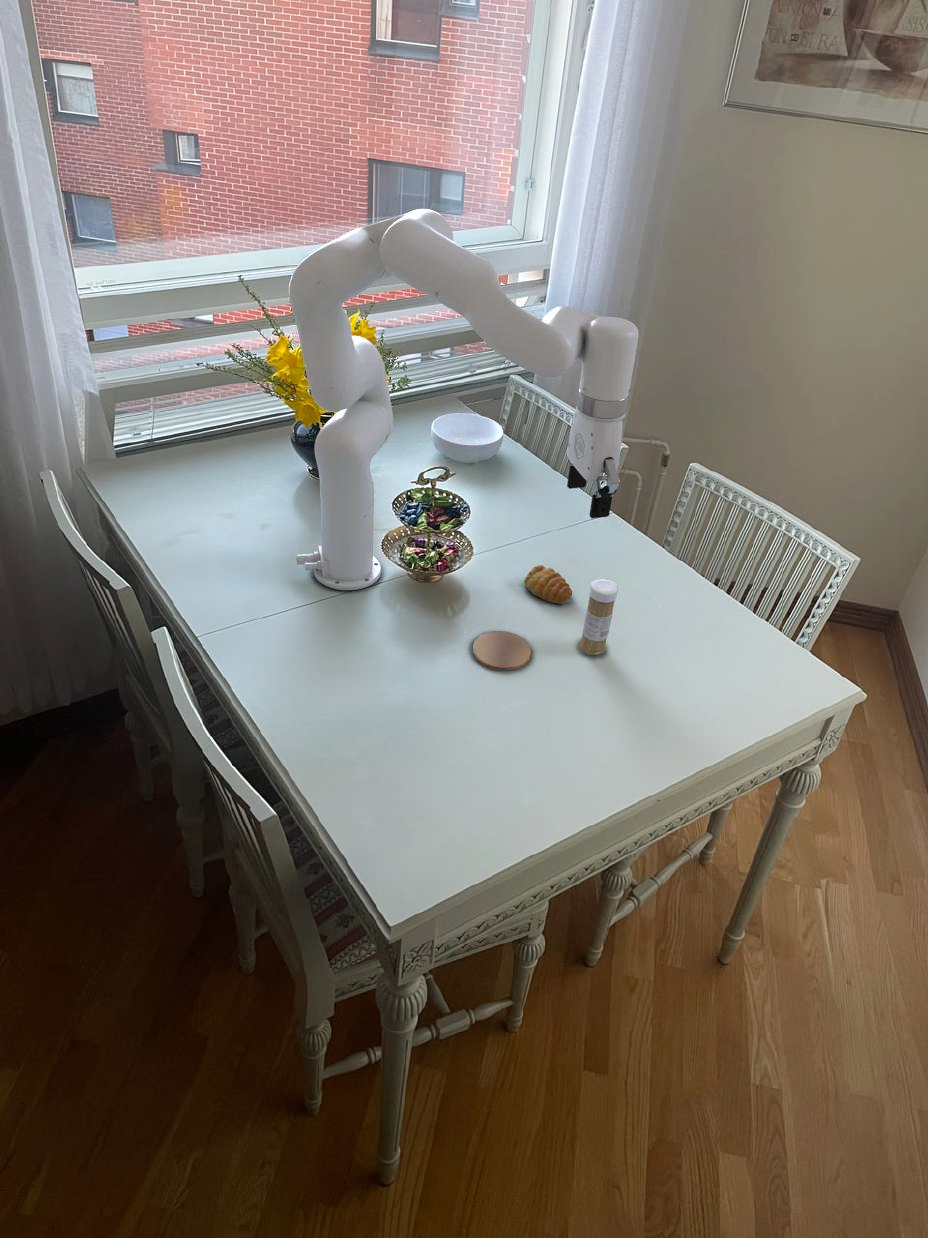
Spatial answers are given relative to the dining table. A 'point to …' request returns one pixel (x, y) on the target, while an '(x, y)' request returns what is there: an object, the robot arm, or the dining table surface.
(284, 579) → the dining table surface
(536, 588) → the pastry
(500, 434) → the cereal bowl
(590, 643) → the sprinkles bottle
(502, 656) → the copper coaster
